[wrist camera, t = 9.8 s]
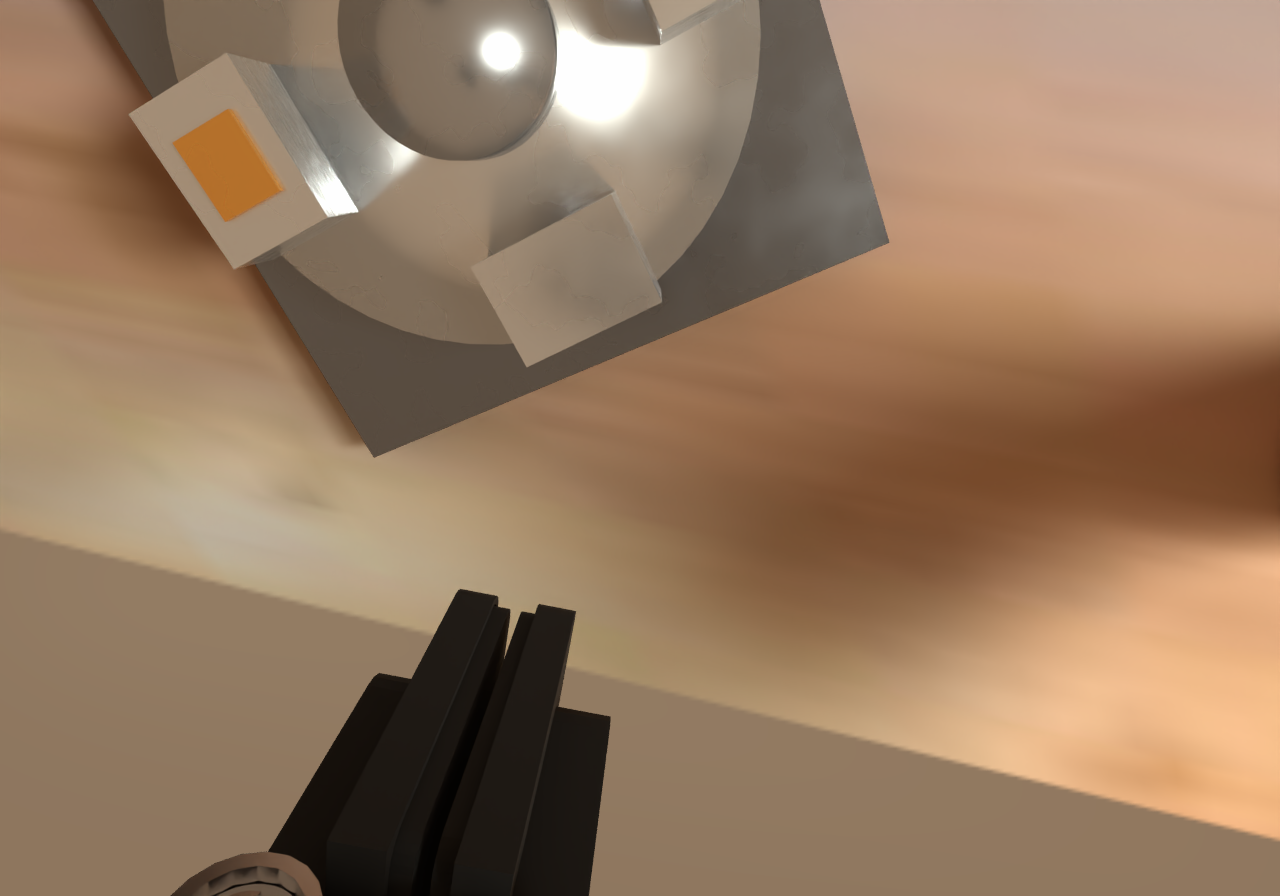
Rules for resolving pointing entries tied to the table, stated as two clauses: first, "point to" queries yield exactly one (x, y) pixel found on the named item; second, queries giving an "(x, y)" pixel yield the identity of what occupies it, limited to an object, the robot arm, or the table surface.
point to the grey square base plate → (691, 288)
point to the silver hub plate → (460, 150)
